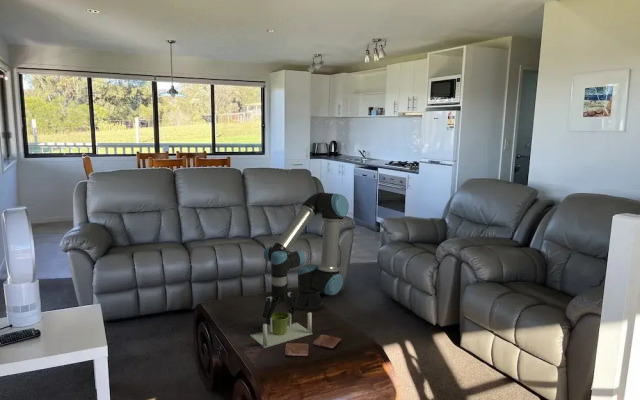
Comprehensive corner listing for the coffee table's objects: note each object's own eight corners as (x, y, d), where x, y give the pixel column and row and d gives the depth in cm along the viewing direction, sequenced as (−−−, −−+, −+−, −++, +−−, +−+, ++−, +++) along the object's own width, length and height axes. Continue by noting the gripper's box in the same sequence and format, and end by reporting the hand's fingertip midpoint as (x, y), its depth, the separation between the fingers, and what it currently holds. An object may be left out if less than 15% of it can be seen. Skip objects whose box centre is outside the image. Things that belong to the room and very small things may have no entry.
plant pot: (286, 337, 215) (286, 320, 214) (267, 336, 217) (267, 319, 215) (291, 329, 224) (291, 312, 223) (273, 327, 226) (273, 311, 224)
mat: (296, 323, 233) (296, 303, 231) (312, 334, 220) (312, 313, 219) (250, 335, 218) (249, 315, 217) (264, 347, 206) (263, 325, 204)
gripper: (295, 277, 226) (295, 320, 229) (254, 286, 214) (255, 331, 217) (303, 281, 220) (303, 325, 223) (261, 290, 208) (262, 336, 211)
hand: (279, 328), depth 220 cm, fingers open, 10 cm apart
